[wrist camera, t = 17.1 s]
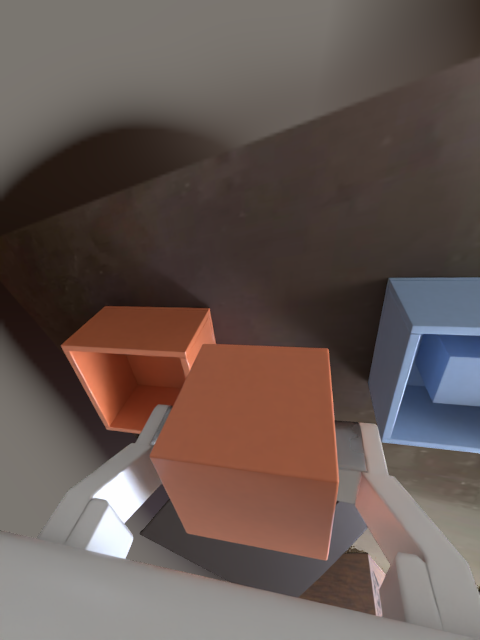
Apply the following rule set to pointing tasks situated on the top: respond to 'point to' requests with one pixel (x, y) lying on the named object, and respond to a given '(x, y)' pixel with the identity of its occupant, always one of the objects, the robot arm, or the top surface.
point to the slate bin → (402, 373)
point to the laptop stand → (255, 552)
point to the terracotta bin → (136, 359)
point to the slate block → (450, 368)
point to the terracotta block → (254, 448)
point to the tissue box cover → (349, 584)
